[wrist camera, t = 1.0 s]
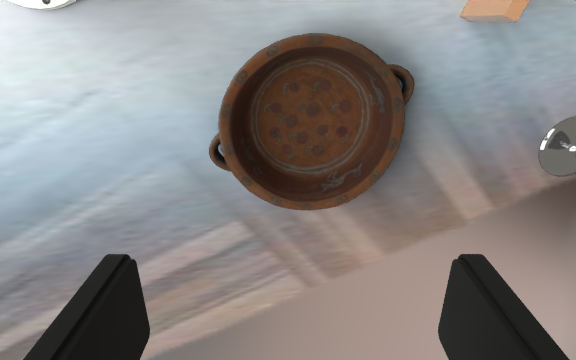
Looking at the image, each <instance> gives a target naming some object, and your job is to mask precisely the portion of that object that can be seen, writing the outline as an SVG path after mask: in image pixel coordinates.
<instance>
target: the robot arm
mask: <svg viewBox="0 0 576 360" xmlns="http://www.w3.org/2000/svg"><path fill="white" fill-rule="evenodd" d="M8 1H9V2H11V3H13V4H16V5H19V6H22V7H26V8H31V9H39V10H53V9H58V8H62V7H65V6H67V5H69V4H72V3H74V2H75V1H76V0H51V2H50V0H8ZM438 334H439V339H440V341H441V344H442V346H443V348H444V350H445V352H446V355H447V357H448V358H449V360H569V359H568V357H567V356H566V355H565V354H564V352H563V351H562V350H561V349H560V348H559V346H558V345H557V344H556V343H555V341H554V340H553V339H552V338H551V337H550V335H549V334H548V333H547V332H546V331H545V330H544V328H543V327H542V326H541V325H540V323H539V322H538V321H537V320H536V318H535V317H534V316H533V315H532V314H531V312H530V311H529V310H528V309H527V307H526V306H525V305H524V304H523V303H522V301H521V300H520V299H519V298H518V297H517V295H516V294H515V293H514V292H513V291H512V289H511V288H510V287H509V286H508V284H507V283H506V282H505V281H504V280H503V278H502V277H501V276H500V275H499V273H498V272H497V271H496V270H495V269H494V267H493V266H492V265H491V264H490V262H489V261H488V260H487V259H486V258H485V257H484V256H483V255H481V254H461V255H460V256H459V257H458V259H455V260H453V262H452V266H451V271H450V275H449V280H448V285H447V289H446V294H445V299H444V304H443V308H442V313H441V318H440V322H439V327H438ZM149 335H150V326H149V321H148V317H147V312H146V307H145V302H144V297H143V292H142V288H141V283H140V278H139V273H138V268H137V264H136V261H135V260H134V259H131V258H130V256H129V255H127V254H108V255H106V256H105V257H104V258H103V259H102V261H101V262H100V263H99V264H98V266H97V267H96V268H95V269H94V271H93V272H92V273H91V275H90V276H89V277H88V278H87V280H86V281H85V282H84V283H83V285H82V286H81V287H80V289H79V290H78V291H77V292H76V294H75V295H74V296H73V297H72V299H71V300H70V301H69V303H68V304H67V305H66V306H65V307H64V308H63V310H62V311H61V312H60V314H59V315H58V316H57V317H56V319H55V320H54V321H53V322H52V324H51V325H50V326H49V327H48V329H47V330H46V331H45V333H44V334H43V335H42V336H41V338H40V339H39V340H38V341H37V343H36V344H35V345H34V347H33V348H32V349H31V350H30V352H29V353H28V354H27V355H26V357H25V358H24V359H23V360H140V358H141V355H142V353H143V351H144V349H145V346H146V344H147V342H148V339H149Z"/></svg>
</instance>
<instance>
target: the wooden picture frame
mask: <svg viewBox="0 0 576 360" xmlns="http://www.w3.org/2000/svg"><path fill="white" fill-rule="evenodd" d="M529 1H530V0H468V2H467V4H466V6H465V7H464V9H463V11H462V13H461V15H460V17H462V18H464V19H466V20H468V21H479V22H517V20H518V19H519V17H520V15H521V14H522V12H523V10H524V9H525V7H526V6H527V4H528V2H529Z"/></svg>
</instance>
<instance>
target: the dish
mask: <svg viewBox="0 0 576 360" xmlns="http://www.w3.org/2000/svg"><path fill="white" fill-rule="evenodd" d="M396 77H397V78H399V79H400V80H401V82H402V90H401V86H400V84H399V81H398V79H397V78H396ZM413 89H414V79H413V77H412V75H411V74H410V73H409V71H408V70H406V69H404V68H403V67H401V66H398V65H394V64H389V65H386V63H385V62H384V61H383V60H382V59H381V58H380V57H379V56H378V55H377V54H375V53H374V52H372V51H371V50H369V49H368V48H366V47H365V46H363V45H361V44H359V43H357V42H354V41H352V40H350V39H347V38H344V37H340V36H335V35H331V34H321V33H310V34H303V35H298V36H293V37H289V38H286V39H283V40H280V41H278V42H275V43H273V44H272V45H270V46H268V47H266V48H264V49H262V50H261V51H259V52H258V53H256V54H255V55H254V56H253V57H252V58H251V59H249V60H248V61H247V62H246V63H245V65H244V66H243V67H242V68H241V69H240V70H239V71H238V72H237V74H236V75H235V76H234V78H233V80H232V81H231V83H230V85H229V87H228V89H227V91H226V93H225V96H224V98H223V101H222V105H221V109H220V113H219V123H218V126H219V133H218V134H217V135H216V136H215V137H214V139H213V140H212V142H211V144H210V147H209V155H210V158H211V160H212V161H213V162H214V163H215V164H216V165H217V166H218V167H220V168H222V169H224V170H228V171H232V173H233V174H234V176H235V177H236V178H237V179H238V180H239V181H240V183H242V184H243V185H244V186H245V187H246V188H247V189H248V190H249V191H250V192H251V193H253V194H254V195H256V196H258V197H259V198H261V199H263V200H265V201H267V202H269V203H271V204H273V205H276V206H280V207H283V208H288V209H295V210H317V209H325V208H331V207H336V206H339V205H341V204H344V203H347V202H349V201H351V200H352V199H354V198H356V197H357V196H358V195H360V194H361V193H363V192H365V191H366V190H367V189H368V188H370V187H371V186H372V185H373V184H374V183H375V182H376V181H377V180H378V179H379V178H380V177H381V176H382V175H383V174H384V172H385V170H386V169H387V168H388V166H389V165H390V163H391V161H392V160H393V158H394V156H395V154H396V152H397V149H398V147H399V144H400V140H401V137H402V133H403V127H404V112H405V109H404V106H405V105H406V103H407V102H408V100H409V99H410V97H411V95H412V93H413ZM220 143H221V150H222V152H223V155H224V157H223V156H222V155H221V154H220V152H219V151H218V146H219V144H220Z"/></svg>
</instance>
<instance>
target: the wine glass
mask: <svg viewBox="0 0 576 360" xmlns="http://www.w3.org/2000/svg"><path fill="white" fill-rule="evenodd" d="M539 162H540V164H541V166H542V168H543V169H544V170H545V171H546V172H548V173H549V174H551V175H554V176H559V177H566V176H572V175H575V174H576V117H571V118H568V119H566V120H564V121H562V122H560V123H558V124H557V125H555V126H554V127H553V128H552V129H551V130H550V131H549V132H548V133H547V134H546V136H545V137H544V139H543V141H542V143H541V145H540V149H539Z"/></svg>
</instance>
